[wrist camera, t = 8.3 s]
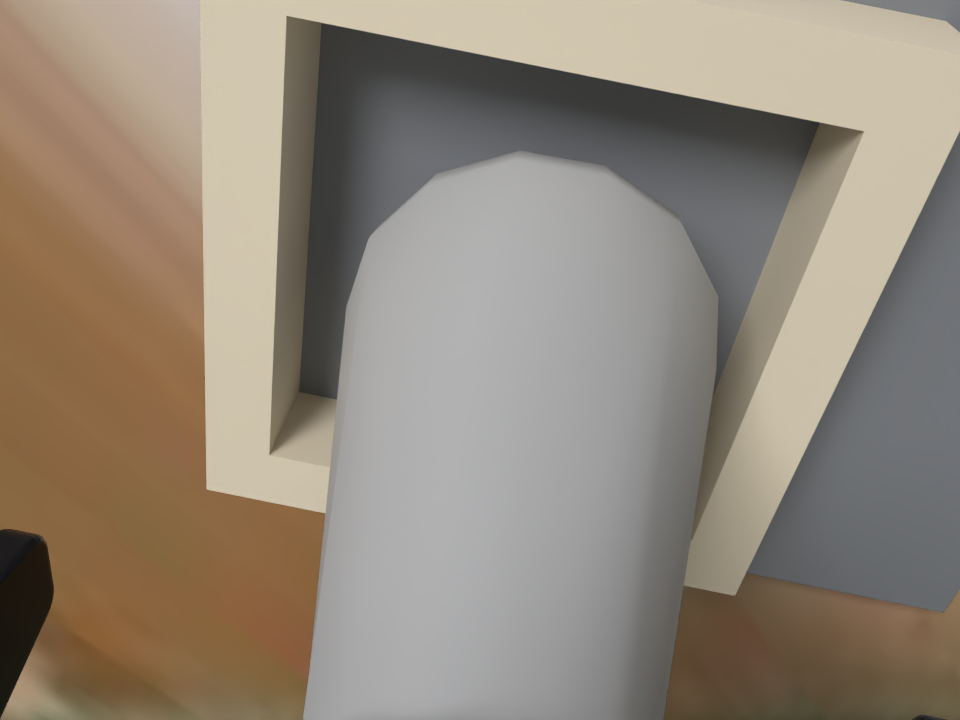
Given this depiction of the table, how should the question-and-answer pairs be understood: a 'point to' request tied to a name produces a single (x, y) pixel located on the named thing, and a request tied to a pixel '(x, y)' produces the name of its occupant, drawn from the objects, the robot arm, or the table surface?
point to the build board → (664, 176)
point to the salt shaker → (514, 452)
